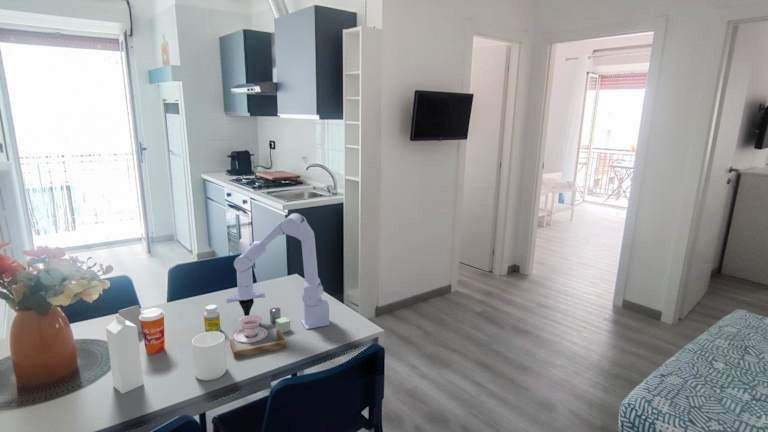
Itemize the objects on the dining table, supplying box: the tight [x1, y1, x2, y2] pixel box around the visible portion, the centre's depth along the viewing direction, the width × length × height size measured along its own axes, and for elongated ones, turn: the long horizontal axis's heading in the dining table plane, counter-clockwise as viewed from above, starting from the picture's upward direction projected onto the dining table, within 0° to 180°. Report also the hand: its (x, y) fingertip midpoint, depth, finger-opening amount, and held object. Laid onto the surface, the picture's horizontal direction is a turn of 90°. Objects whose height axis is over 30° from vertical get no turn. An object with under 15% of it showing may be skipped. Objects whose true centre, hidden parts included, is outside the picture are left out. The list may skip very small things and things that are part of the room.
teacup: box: [233, 314, 269, 344], centre depth 159 cm, size 12×12×6 cm
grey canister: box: [269, 307, 282, 325], centre depth 170 cm, size 4×4×5 cm
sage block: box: [275, 316, 291, 334], centre depth 164 cm, size 4×4×4 cm
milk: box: [105, 313, 144, 395], centre depth 126 cm, size 6×6×22 cm
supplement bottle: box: [203, 304, 221, 332], centre depth 161 cm, size 5×5×10 cm
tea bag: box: [117, 304, 143, 334], centre depth 158 cm, size 4×7×10 cm, turn 140°
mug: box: [191, 331, 228, 382], centre depth 135 cm, size 10×12×12 cm
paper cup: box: [139, 307, 166, 355], centre depth 146 cm, size 8×8×14 cm
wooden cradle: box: [229, 329, 287, 359], centre depth 151 cm, size 17×9×2 cm, turn 117°
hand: (246, 316), depth 171 cm, fingers closed
